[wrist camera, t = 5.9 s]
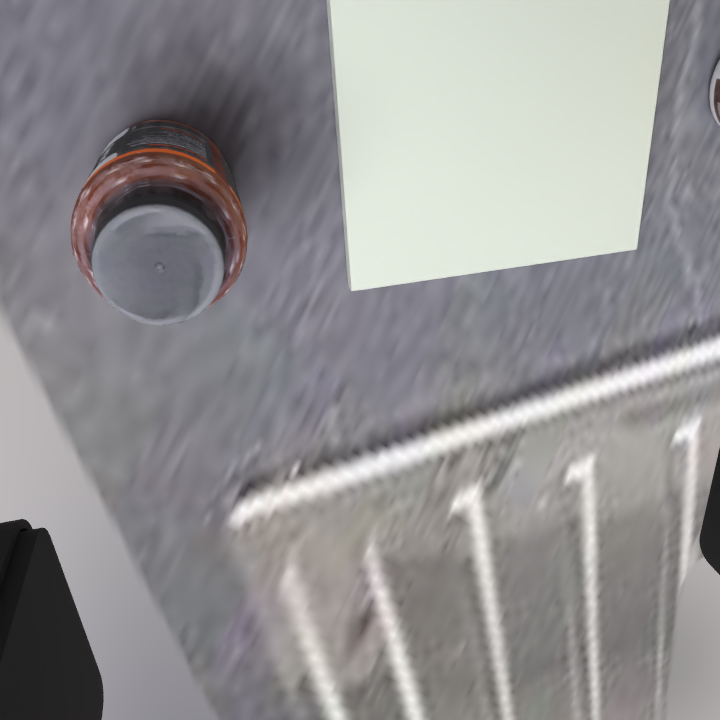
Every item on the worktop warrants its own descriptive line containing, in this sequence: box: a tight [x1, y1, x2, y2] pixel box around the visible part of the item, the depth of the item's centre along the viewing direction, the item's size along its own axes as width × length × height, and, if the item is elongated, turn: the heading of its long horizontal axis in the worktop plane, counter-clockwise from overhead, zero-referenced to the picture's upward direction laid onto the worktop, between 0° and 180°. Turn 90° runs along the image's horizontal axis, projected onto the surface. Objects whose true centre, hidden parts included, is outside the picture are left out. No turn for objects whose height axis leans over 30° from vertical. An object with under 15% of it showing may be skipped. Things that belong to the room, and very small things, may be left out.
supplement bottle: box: [71, 120, 248, 325], centre depth 26 cm, size 6×6×11 cm
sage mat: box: [326, 0, 670, 291], centre depth 32 cm, size 16×16×1 cm
